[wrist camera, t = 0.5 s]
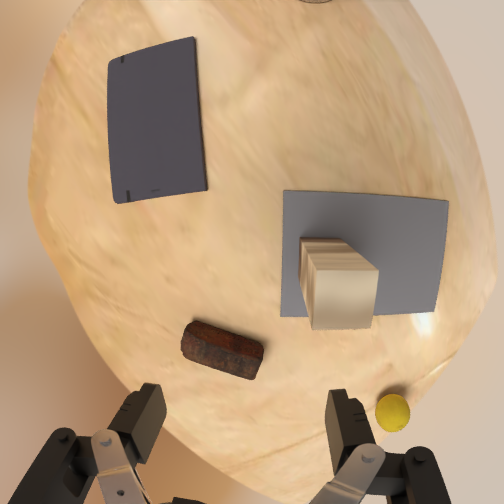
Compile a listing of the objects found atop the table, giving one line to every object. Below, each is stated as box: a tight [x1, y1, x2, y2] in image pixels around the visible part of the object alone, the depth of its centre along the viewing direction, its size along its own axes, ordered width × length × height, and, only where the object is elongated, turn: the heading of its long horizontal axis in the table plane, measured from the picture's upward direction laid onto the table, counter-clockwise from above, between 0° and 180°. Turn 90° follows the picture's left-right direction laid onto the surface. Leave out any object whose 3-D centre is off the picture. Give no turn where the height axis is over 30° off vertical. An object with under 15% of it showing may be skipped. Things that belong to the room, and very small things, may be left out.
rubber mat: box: [280, 191, 449, 317], centre depth 35 cm, size 16×23×1 cm
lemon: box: [375, 394, 410, 432], centre depth 36 cm, size 6×6×8 cm
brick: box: [181, 321, 264, 380], centre depth 37 cm, size 11×4×5 cm, turn 72°
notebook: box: [107, 36, 207, 204], centre depth 33 cm, size 13×2×21 cm
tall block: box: [298, 237, 379, 330], centre depth 29 cm, size 5×5×14 cm
